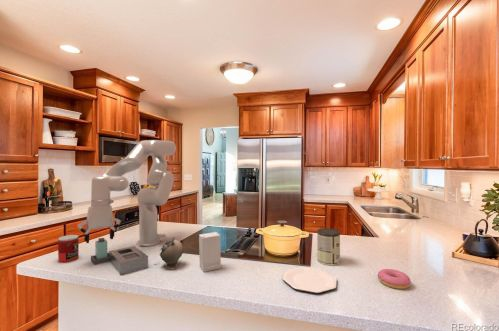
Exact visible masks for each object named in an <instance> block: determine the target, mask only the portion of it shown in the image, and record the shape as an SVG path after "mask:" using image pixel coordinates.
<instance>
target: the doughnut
mask: <svg viewBox="0 0 499 331" xmlns="http://www.w3.org/2000/svg"><path fill="white" fill-rule="evenodd" d="M377 277H378V278H377V279H378V280H379V282H380V283H381V284H383V285H384V286H386V287H388V288H392V289H395V290H396V289H397V290H405V289H407V288H409V287H410V286H411V284H412V281H411V278H410V277H409V275H407V274H406V273H405V272H403V271H400V270H397V269H393V268H385V269H384V268H383V269H381V270H379V271H378V272H377Z"/></svg>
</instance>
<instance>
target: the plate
mask: <svg viewBox="0 0 499 331" xmlns="http://www.w3.org/2000/svg"><path fill="white" fill-rule="evenodd" d="M282 280H283V282H284V283H286V284H287V285H289V286H290V287H291V288H292V289H293V290H297V291H301V292H307V293H311V294H321V293H322V294H323V293H325V292H329V291H333V290H335V289H336V288H337V281H338V280H337V277H336V276H334V275H332V274H331V273H329V272H327V271H326V270H324V269H320V268H313V267H308V266H300V267H296V268H289V269H286V271H285V273H284V275H283V276H282Z"/></svg>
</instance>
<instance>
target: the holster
mask: <svg viewBox="0 0 499 331" xmlns="http://www.w3.org/2000/svg"><path fill="white" fill-rule="evenodd" d="M90 261H91V263H92V264H93V265H94V266H96V265H100V264H104V263H110V259H109V252H107V257H105V258H101V259H96V255H90Z"/></svg>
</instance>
